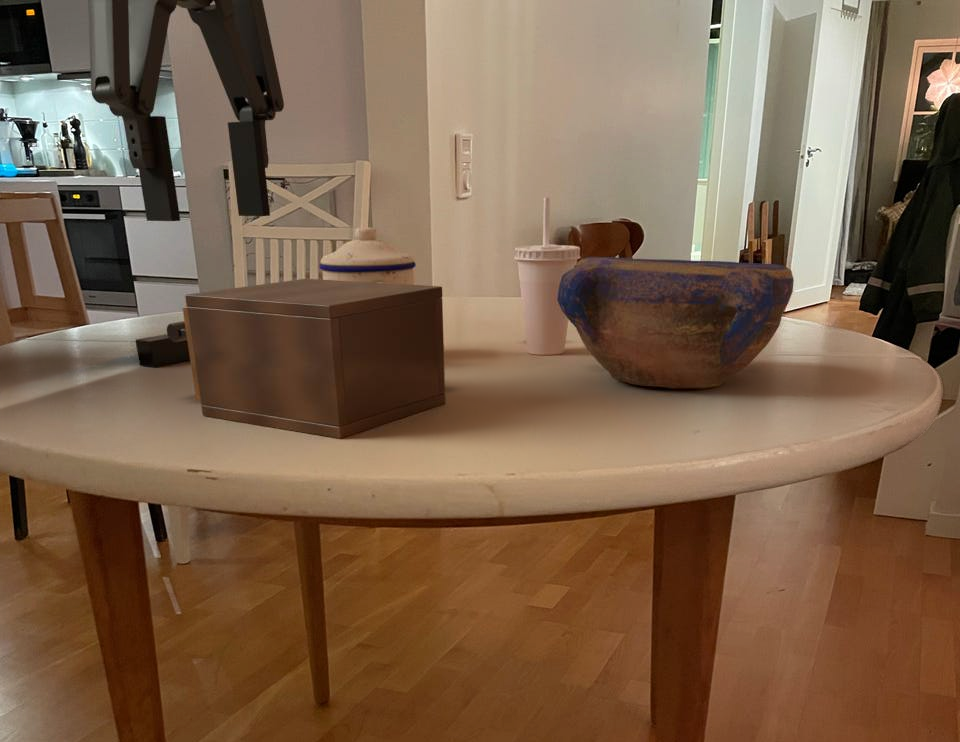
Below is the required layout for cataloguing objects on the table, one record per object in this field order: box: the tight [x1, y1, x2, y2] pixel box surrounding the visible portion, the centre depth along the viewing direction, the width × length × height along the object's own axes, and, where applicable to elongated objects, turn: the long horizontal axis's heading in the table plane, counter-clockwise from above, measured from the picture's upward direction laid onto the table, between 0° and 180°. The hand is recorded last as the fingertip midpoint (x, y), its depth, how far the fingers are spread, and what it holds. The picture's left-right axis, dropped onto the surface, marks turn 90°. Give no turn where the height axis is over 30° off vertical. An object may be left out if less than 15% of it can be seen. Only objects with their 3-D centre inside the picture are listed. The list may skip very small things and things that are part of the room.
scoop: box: [134, 333, 190, 368], centre depth 90 cm, size 8×4×3 cm, turn 147°
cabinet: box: [184, 278, 446, 439], centre depth 69 cm, size 14×13×9 cm
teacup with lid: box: [319, 227, 417, 285], centre depth 87 cm, size 12×9×12 cm
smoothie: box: [513, 196, 582, 356], centre depth 89 cm, size 6×6×14 cm
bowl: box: [557, 256, 795, 390], centre depth 77 cm, size 18×18×10 cm
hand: (211, 217), depth 69 cm, fingers open, 8 cm apart
